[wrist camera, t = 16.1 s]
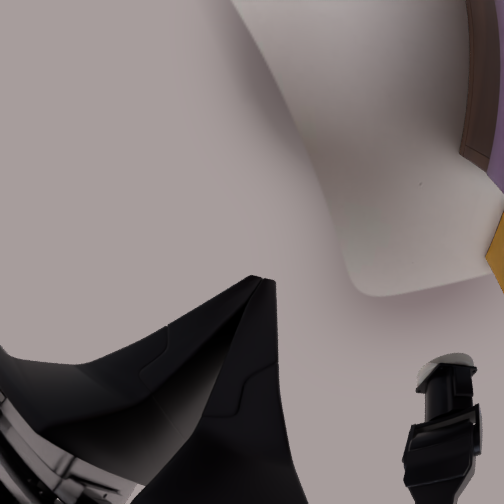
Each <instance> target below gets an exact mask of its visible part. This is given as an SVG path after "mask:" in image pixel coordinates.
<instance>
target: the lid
mask: <svg viewBox="0 0 504 504" xmlns="http://www.w3.org/2000/svg"><path fill="white" fill-rule="evenodd" d="M495 6H496V12H497V19H498V28H499V40H500V93H499V105H498V115H497V122H496V129H495V135H494V141H493V147H492V152H491V156H490V161H489V165H488V169H487V175H488V176H489V177H490V179H491V180H492V181H493V182H494V183H495V184H496V185H497V186H498V188H499V189H500V190H501V191H502V192H503V194H504V0H495Z"/></svg>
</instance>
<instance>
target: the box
mask: <svg viewBox="0 0 504 504" xmlns="http://www.w3.org/2000/svg"><path fill="white" fill-rule="evenodd" d="M466 5H467V13H468V24H469V44H470V66H469V87H468V99H467V108H466V116H465V123H464V130H463V136H462V141H461V146H460V152H459V154H460V155H462V156H463V157H465V158H466V159H468V160H469V161H471V162H472V163H473V164H475V165H476V166H478V167H479V168H481V169H482V170H483V171H485V172H486V173H487V169H488V165H489V161H490V156H491V152H492V147H493V141H494V135H495V129H496V122H497V115H498V105H499V93H500V40H499V28H498V19H497V12H496V6H495V0H466Z"/></svg>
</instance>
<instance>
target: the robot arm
mask: <svg viewBox="0 0 504 504" xmlns="http://www.w3.org/2000/svg"><path fill="white" fill-rule="evenodd" d="M277 331H278V328H277V299H276V282H275V281H274V280H271V279H266V278H264V279H262V278H261V277H258V276H253V275H250V276H248V277H246V278H244V279H243V280H241V281H240V282H238V283H237V284H235V285H233V286H231V287H230V288H228V289H227V290H225V291H223V292H222V293H220V294H218V295H217V296H215V297H213V298H212V299H210V300H208V301H207V302H205V303H203V304H202V305H200V306H199V307H197V308H195V309H193V310H192V311H190V312H188V313H187V314H185V315H183V316H182V317H180V318H178V319H177V320H175V321H173V322H171V323H170V324H168V326H164V327H163V328H161V329H159V330H158V331H156V332H154V333H152V334H151V335H149V336H147V337H145V338H143V339H141V340H140V341H137V342H135V343H133V344H131V345H129V346H127V347H124V348H122V349H120V350H118V351H115V352H113V353H111V354H108V355H106V356H104V357H102V358H99V359H97V360H94V361H92V362H89V363H85V364H78V365H69V364H58V363H47V362H38V361H30V360H22V359H17V358H14V357H11V356H10V355H8V354H7V352H6V351H5V350H4V349H3V348H2V346H1V345H0V504H125V503H126V501H127V500H128V498H129V497H130V495H131V493H132V492H133V490H134V488H135V487H136V485H137V484H141V485H144V486H146V487H145V488H144V489H143V490H142V491H141V492H140V493H139V494H138V495H137V496H136V497H135V498H134V499H133V500H132V502H131V503H130V504H308V501H307V499H306V496H305V493H304V491H303V488H302V486H301V483H300V481H299V478H298V475H297V473H296V470H295V467H294V464H293V460H292V456H291V452H290V447H289V441H288V436H287V431H286V425H285V420H284V414H283V409H282V403H281V396H280V385H279V364H278V332H277ZM476 371H477V367H475V366H467V365H458V364H450V363H439V364H438V365H437V366H436V367H435V368H434V369H433V370H432V371H431V373H430V374H429V375H428V376H427V377H426V378H425V379H424V380H423V382H422V383H421V384H420V385H419V386H418V387H417V388H416V393H423V394H425V422H424V423H420V424H417V425H416V424H414V425H411V429H410V432H409V435H408V440H407V443H406V447H405V451H404V455H403V458H402V462H403V463H404V469H405V475H404V479H403V481H404V483H405V486H406V487H408V489H409V491H410V493H411V495H412V497H413V499H414V501H415V504H457V500H458V497H459V496H460V495H461V493H462V492H463V490H464V489H465V487H466V486H467V484H468V483H469V481H470V480H471V478H472V477H473V475H474V472H475V461H476V460H475V459H476V456H478V455H480V454H481V449H482V416H481V411H480V406H479V403H478V404H476V405H475V406H473V400H472V397H473V386H472V379H471V377H472V376H473V375H474V374H475V373H476ZM473 423H475V425H473ZM57 498H58V499H59V500H60V501H59V500H57Z"/></svg>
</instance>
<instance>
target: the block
mask: <svg viewBox="0 0 504 504" xmlns="http://www.w3.org/2000/svg"><path fill="white" fill-rule="evenodd" d="M485 258H486V260H487V262H488V264H489V265H490V267H491V269H492V271H493V273H494V274H495V277H496V279H497V280H498V283H499V285H500V287H501V289H502V291H503V293H504V212H503V215H502V218H501V221H500V223H499V226H498V229H497V231H496V234H495V236H494V239H493V241H492V243H491V246H490V248H489V250H488V252H487V255H486V257H485Z"/></svg>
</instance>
